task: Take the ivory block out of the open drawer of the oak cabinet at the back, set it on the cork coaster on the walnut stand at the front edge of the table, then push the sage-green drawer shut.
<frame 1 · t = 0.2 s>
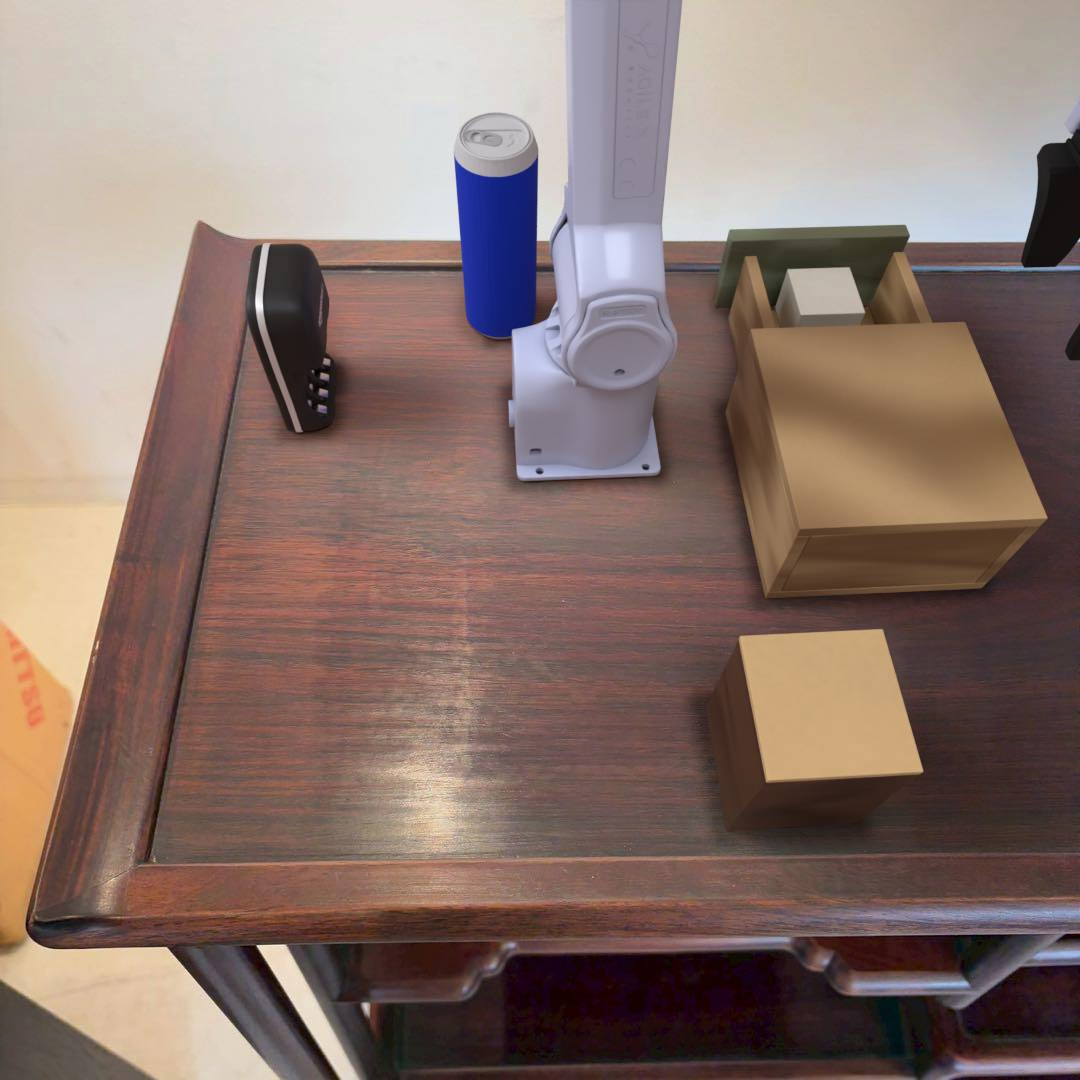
hand: (1059, 308, 53), 10 cm above the table, tool pointing down, fingers open, 7 cm apart
beverage can: (501, 320, 66), on the table
cabinet: (845, 495, 58), on the table
stand: (778, 762, 49), on the table
block: (811, 328, 63), point 2 cm above the table, touching drawer
drawer: (824, 324, 61), point 4 cm above the table, slide at 9.0 cm, touching block
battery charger: (319, 398, 62), on the table
coaster: (825, 704, 41), resting on stand
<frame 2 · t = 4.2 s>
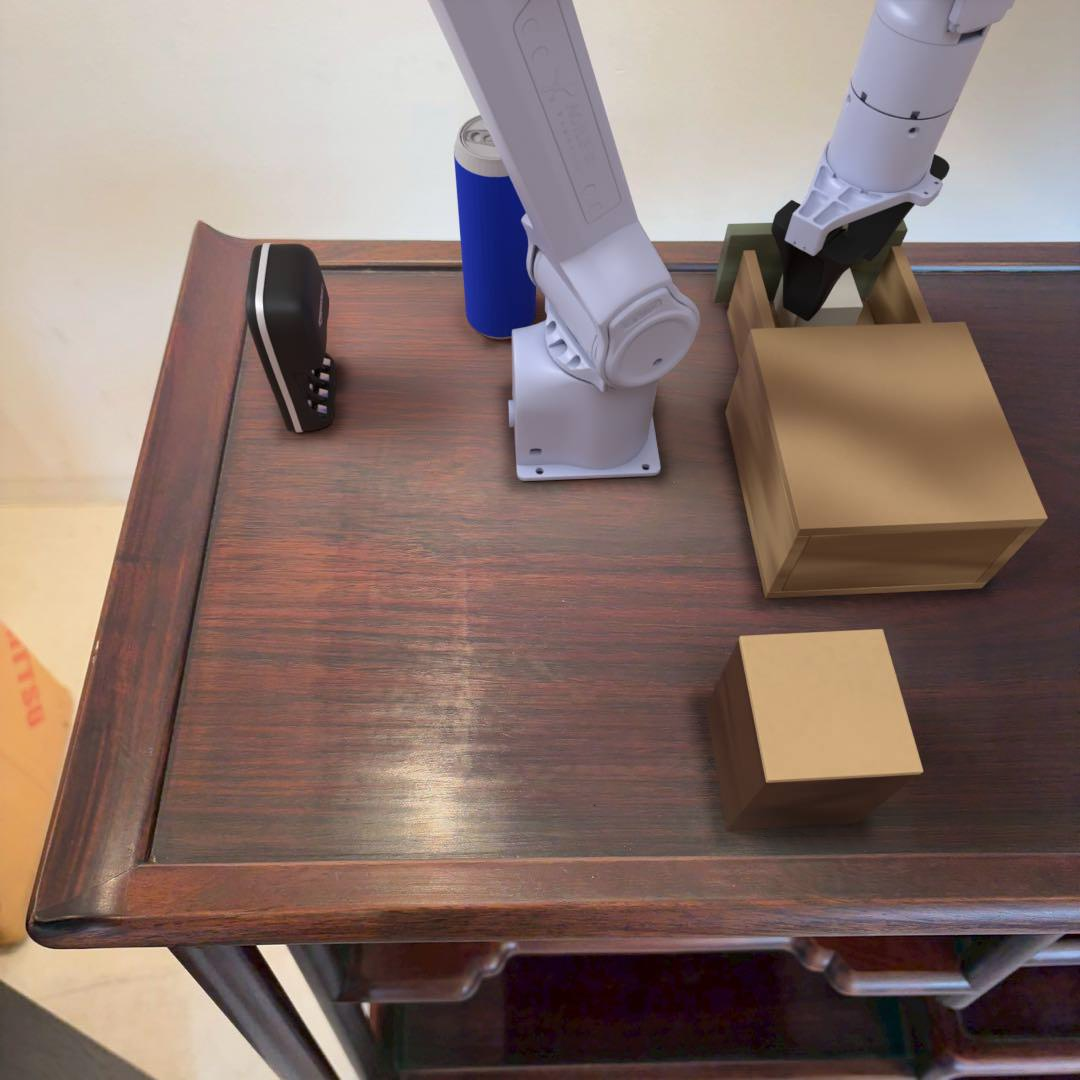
hand: (829, 281, 60), 6 cm above the table, tool pointing down, fingers open, 7 cm apart
drawer: (822, 318, 61), point 4 cm above the table, slide at 9.6 cm, touching block, gripper
everything else where it was.
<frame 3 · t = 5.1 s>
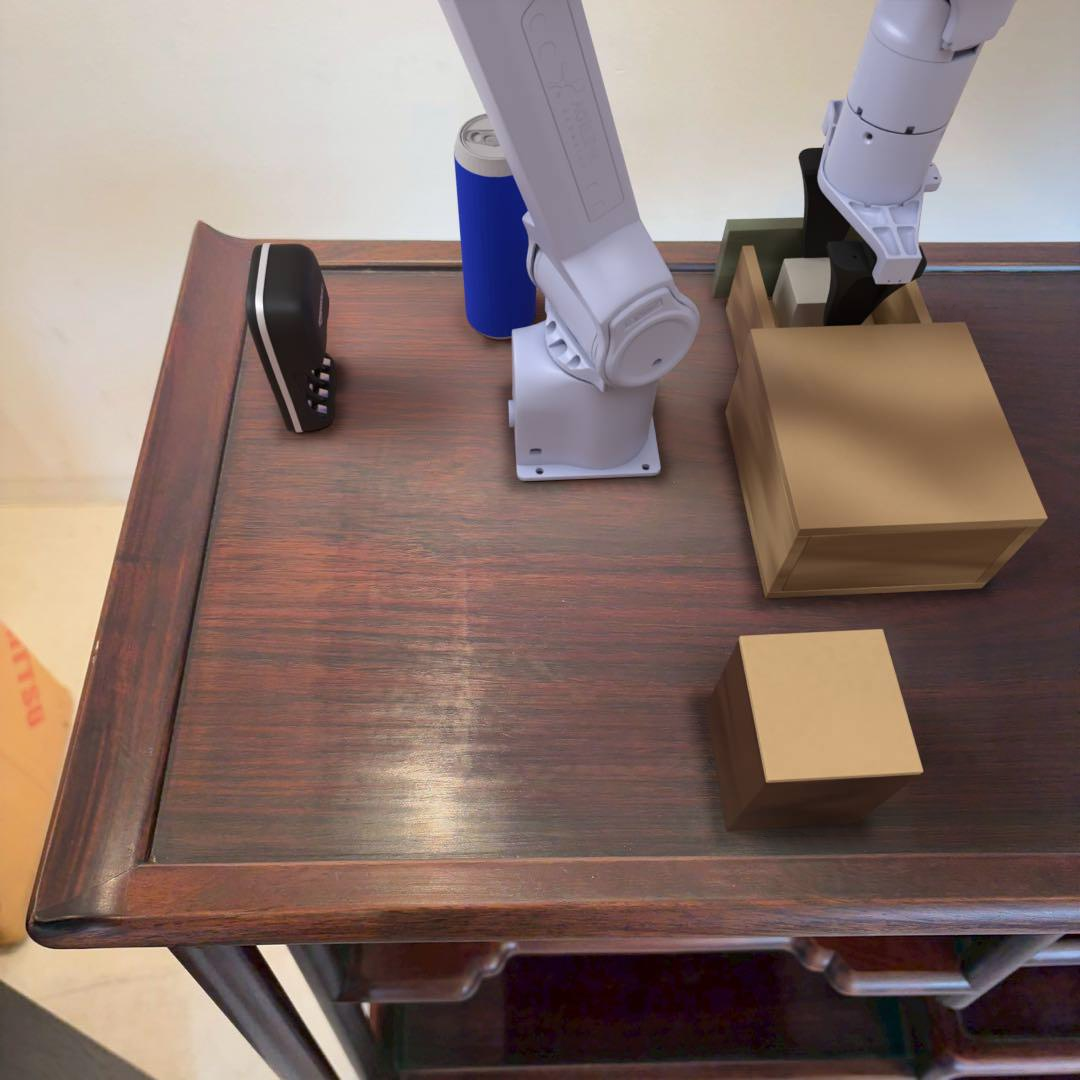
hand: (827, 290, 60), 6 cm above the table, tool pointing down, fingers open, 6 cm apart
block: (808, 317, 64), point 2 cm above the table, touching drawer, gripper
drawer: (821, 313, 61), point 4 cm above the table, slide at 10.0 cm, touching block, gripper
everything else where it was.
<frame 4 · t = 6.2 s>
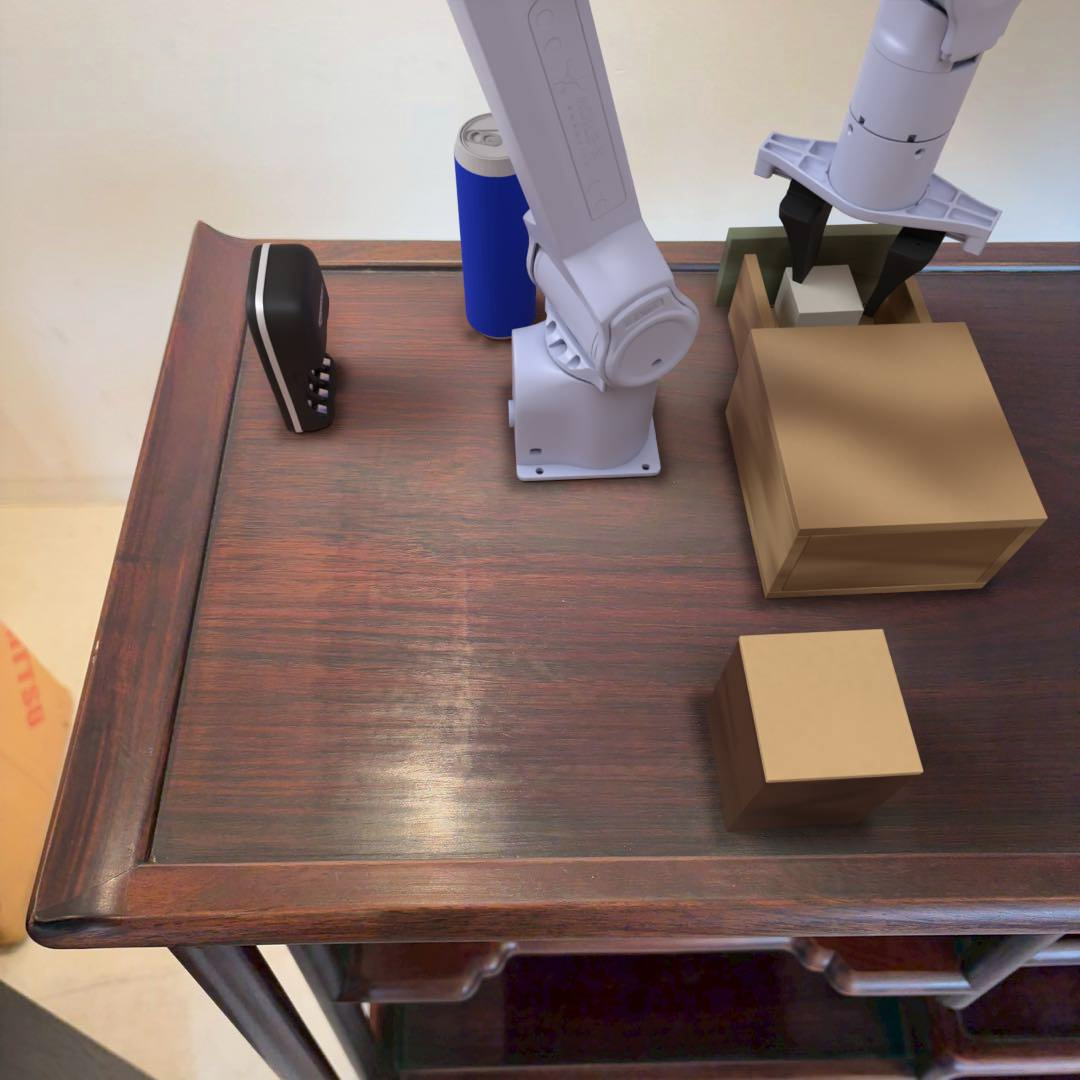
hand: (835, 292, 61), 5 cm above the table, tool pointing down, fingers closed on block, 5 cm apart
block: (810, 326, 63), point 2 cm above the table, touching drawer, gripper
drawer: (824, 322, 61), point 4 cm above the table, slide at 9.2 cm, touching block, gripper
everything else where it was.
when the fingers open (9 cm above the table, at t = 13.3 s): block stays where it is, resting on coaster.
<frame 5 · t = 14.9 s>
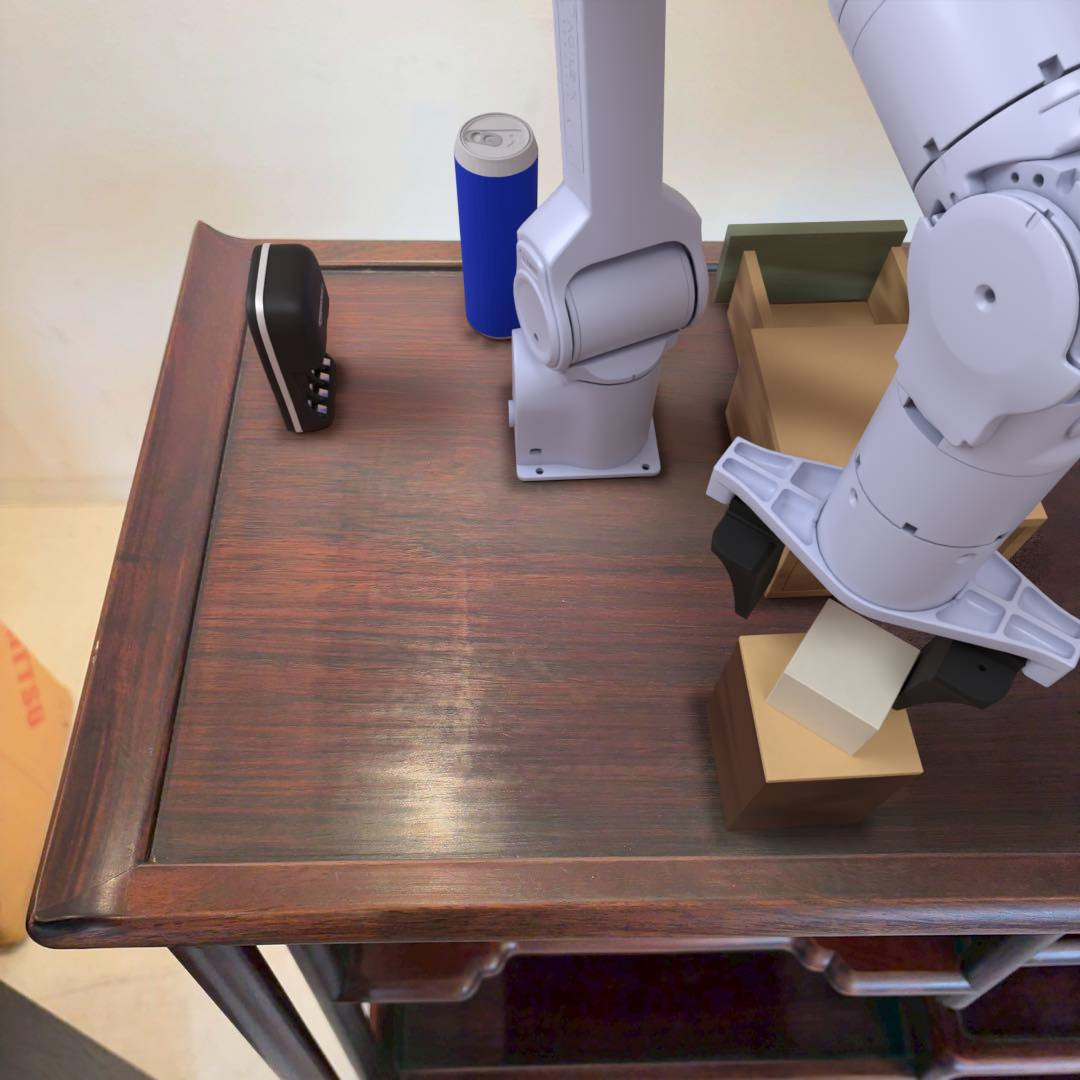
hand: (823, 644, 41), 10 cm above the table, tool pointing down, fingers open, 7 cm apart
block: (828, 692, 41), point 9 cm above the table, touching coaster, gripper
drawer: (823, 319, 61), point 4 cm above the table, slide at 9.5 cm
everything else where it was.
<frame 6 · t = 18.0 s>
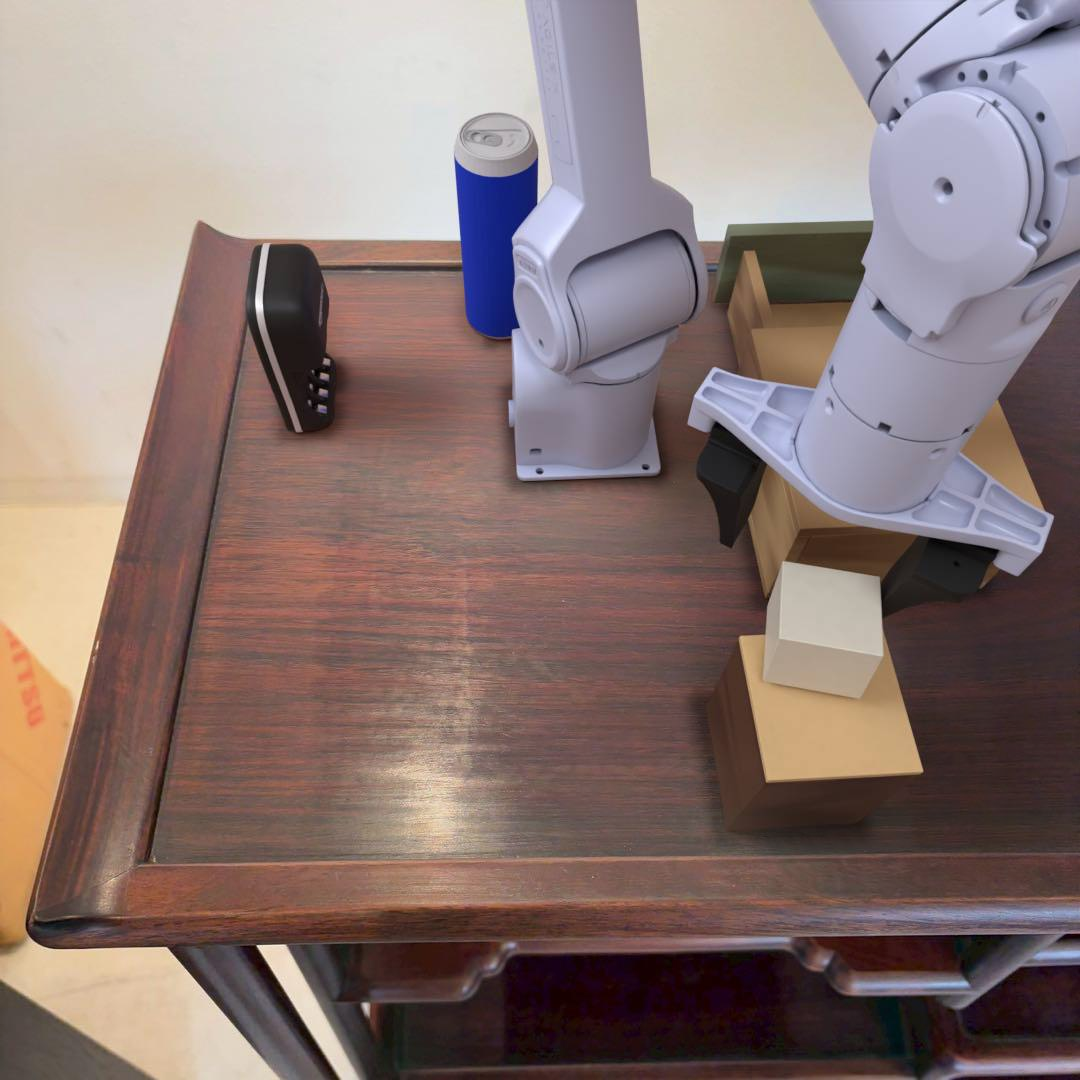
hand: (805, 566, 43), 10 cm above the table, tool pointing down, fingers open, 7 cm apart
block: (811, 651, 42), point 10 cm above the table, tilted 9°, touching coaster, gripper
everything else where it was.
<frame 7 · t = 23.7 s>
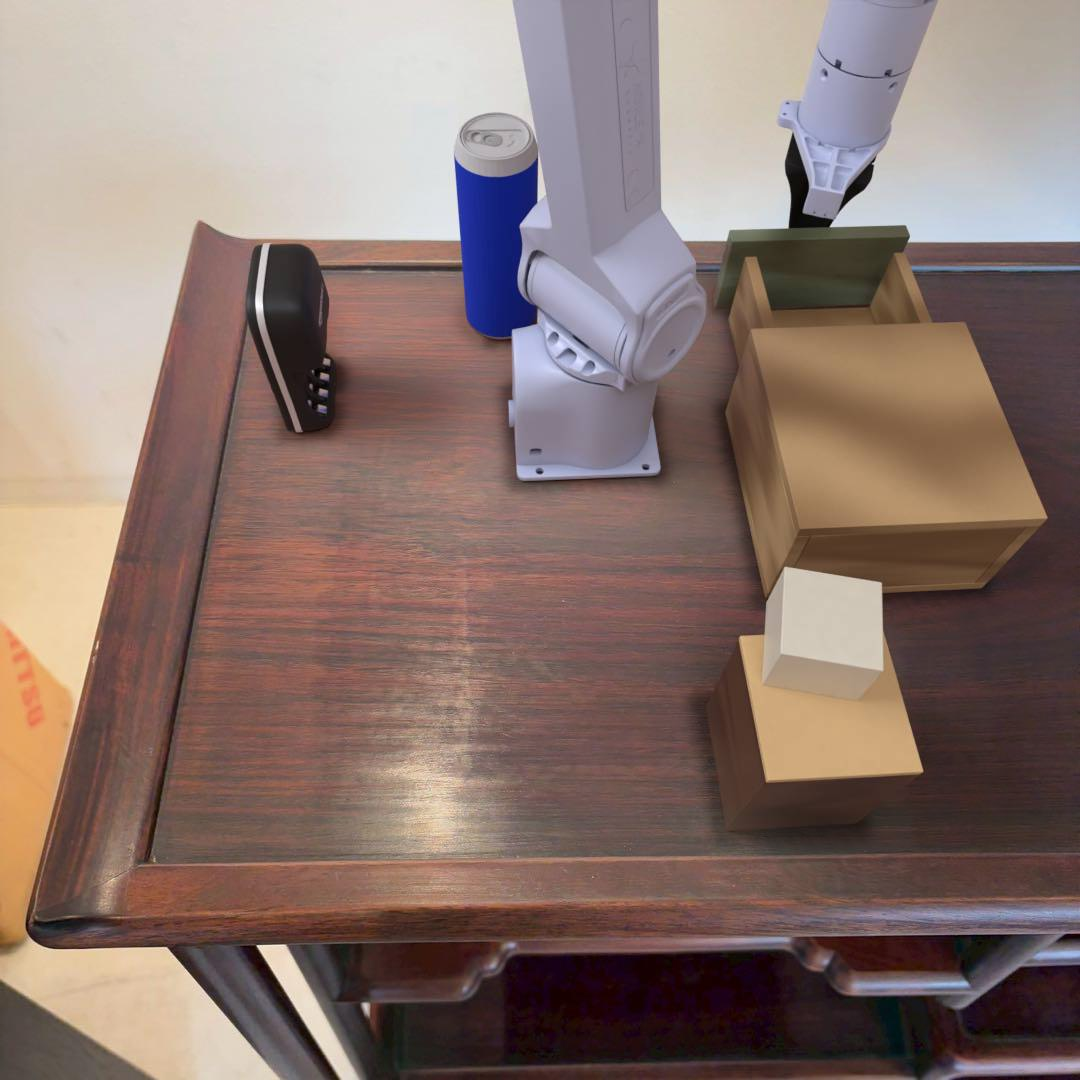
hand: (803, 237, 64), 5 cm above the table, tool pointing down, fingers closed
block: (810, 650, 42), point 9 cm above the table, touching coaster
drawer: (824, 325, 61), point 4 cm above the table, slide at 8.9 cm, touching gripper
everything else where it was.
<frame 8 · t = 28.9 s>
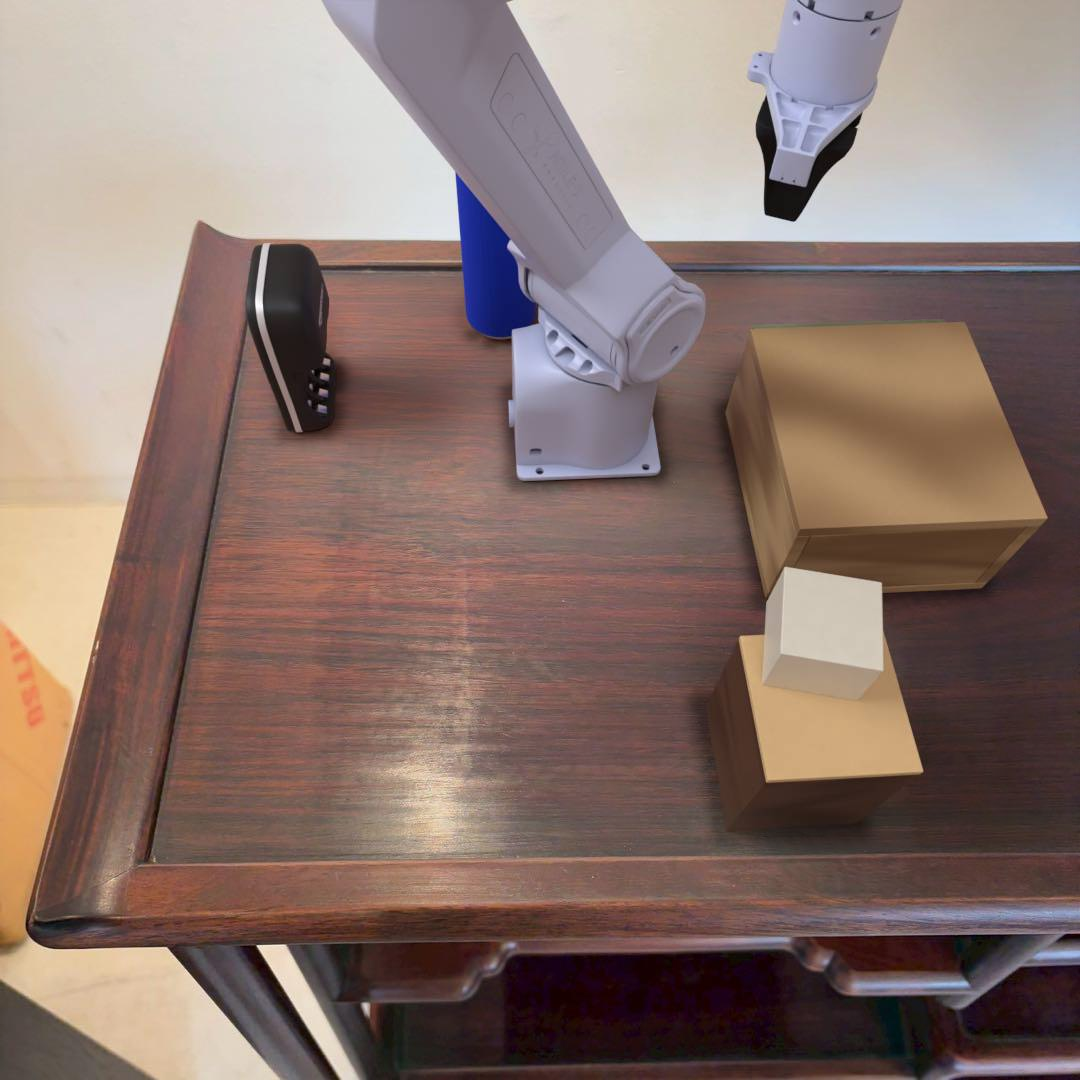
hand: (781, 212, 57), 10 cm above the table, tool pointing down, fingers closed
drawer: (856, 428, 56), point 4 cm above the table, slide at 0.0 cm
everything else where it was.
at the end: block 2.6 cm off-centre on the coaster, point 0.4 cm above the coaster's base; block tilted 0°; drawer slide at 0.0 cm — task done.
